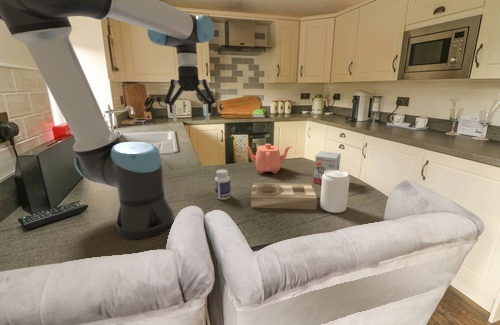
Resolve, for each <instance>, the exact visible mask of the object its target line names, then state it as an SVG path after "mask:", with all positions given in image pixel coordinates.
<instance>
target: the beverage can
mask: <svg viewBox="0 0 500 325" xmlns="http://www.w3.org/2000/svg"><path fill="white" fill-rule="evenodd" d="M350 180H351V179H350V176H349V173H348V172H346V171H344V170H340V169H339V170H327V171H325V172H324V174H323V176H322V184H321V189H320V202H319V203H320V204H319V206H320V208H321V209H322V210H324V211H326V212H328V213H334V214H338V213H343V212H345V211H346V210H347V205H348V197H349V188H350Z"/></svg>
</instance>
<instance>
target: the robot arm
mask: <svg viewBox="0 0 500 325" xmlns="http://www.w3.org/2000/svg"><path fill="white" fill-rule="evenodd" d="M70 17H85V18H92V19H95V20H99V21H100V20H105V19H106V18H109V19H112V20H116V21H118V22H119V21H120V22H123V23H127V24H129V25H133V26H136V27H139V28H142V29H146V30H147V37H148V38H149V41H150V42H151V43H153V44H154V45H158V46H162V47H163V46H164V47H170V48H176V59H177V60H176V61H177V65H178V67H177V72H178V79H175V78H174V79H170V84H169V85H170V86H169V88H168V90H167V92H166V93H167V94H166V95H165V98H164V104H166V105H169V112H170V114H172V122H173V123H174V122H177V121H178V116H177V105H176V104H175V103H176V101H177V100H178V99H179V97H180V96H181V94H182V93H183V92H196V93H197V94H198V95H199V96H200V97H201V99H203V101H204V102H205V103H206V105H205V116H206V118H205V119H206V122H207V123H209V122H210V114H211V113H212V111H213V110H212V108H213V107H212V105H213V104H215V103H217V102H216V99H215V96H214V95H213V93H212V92H211V90H210V86H208V80H207V79H205V78H203V79H199V67H197V66H198V53H197V44H203V43H208V42H211V41H212V40H213V39H214V35H215V27H214V26H215V25H214V23H213V21H212V19H211V18H210V17H209V15H206V14H203V15H202V14H198V15H193V14H190V13H189V12H185V11H184V10H182V9H179V8H177V7H175V6H173V5H170V4H168V3H165V2H163V1H162V0H161V1H160V0H0V21H3V23H4V24H5V25H6V28H7V29H8V32H9V33H10V34H11V37H12V38H14V39H16V40H18V41H20V42H22V43H23V44H24V45H25V46H26V47H27V50H28V51H29V54H30V55H31V57H32V59H33V61H34V64H35V65H36V67H37V69H38V70H39V73H40V74H41V76H42V78H43V80H44V82H45V84H46V86H47V88H48V90H49V92H50V94H51V95H52V98H53V99H54V102H55V103H56V105H57V107H58V108H59V110H60V113H61V115H62V116H63V118H64V121H65V122H66V124H67V126H68V128H69V130H70V132H71V133H72V136H73V137H74V139H75V142H74V143H73V145H72V149H73V151H74V154H75V156H74V159H73V162H74V166H75V169H76V171H77V173H79V174H80V175H81V176H82V177H83V178H85V179H86V180H88V181H91V182H93V183H98V184H102V185H106V186H110V187H113V188H117V194H118V199H119V209H118V213H117V218H116V225H115V226H116V231H117V234H118V235H119V236H120V237H123V238H124V239H129V240H139V239H141V240H143V239H147V238H151V237H154V236H158V235H161V233H165V232H166V231H167V230H169V229H170V228H171V227H172V226H173V224H174V222H173V221H174V211H173V210H172V208H171V206H170V204H169V202H168V200H167V198H166V194H165V188H164V187H165V186H164V177H163V176H164V175H163V165H162V158H161V155H160V150H159V149H158V147H157V146H156V145H154V144H152V143H150V142H149V143H148V142H146V141H145V142H144V141H125V142H122V141H121V138H120V136H119V134H118V133H117V132H115V131H113V130H111V129H110V128H109V126H108V123H107V121H106V118H105V117H104V114H103V113H102V110H101V107H100V105H99V103H98V101H97V98H96V96H95V95H94V92H93V90H92V87H91V85H90V83H89V80H88V78H87V76H86V74H85V72H84V69H83V67H82V64H81V62H80V60H79V57H78V55H77V53H76V51H75V49H74V46H73V44H72V42H71V39H70V35H71V33H72V31H73V27H72V24H71V22H70V19H69V18H70ZM177 85H179V87H178V89H177V91H176V93H175V94H174V95H173V93H174V91H175V88H176V86H177ZM199 85H201V86H203V89H204V90H205V92H206V94H207V96H208V97H209V98H208V97H207V96H206V94H204V92H203V91H202V90H201V88H200V87H199ZM172 95H173V96H172ZM172 223H173V224H172Z"/></svg>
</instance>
